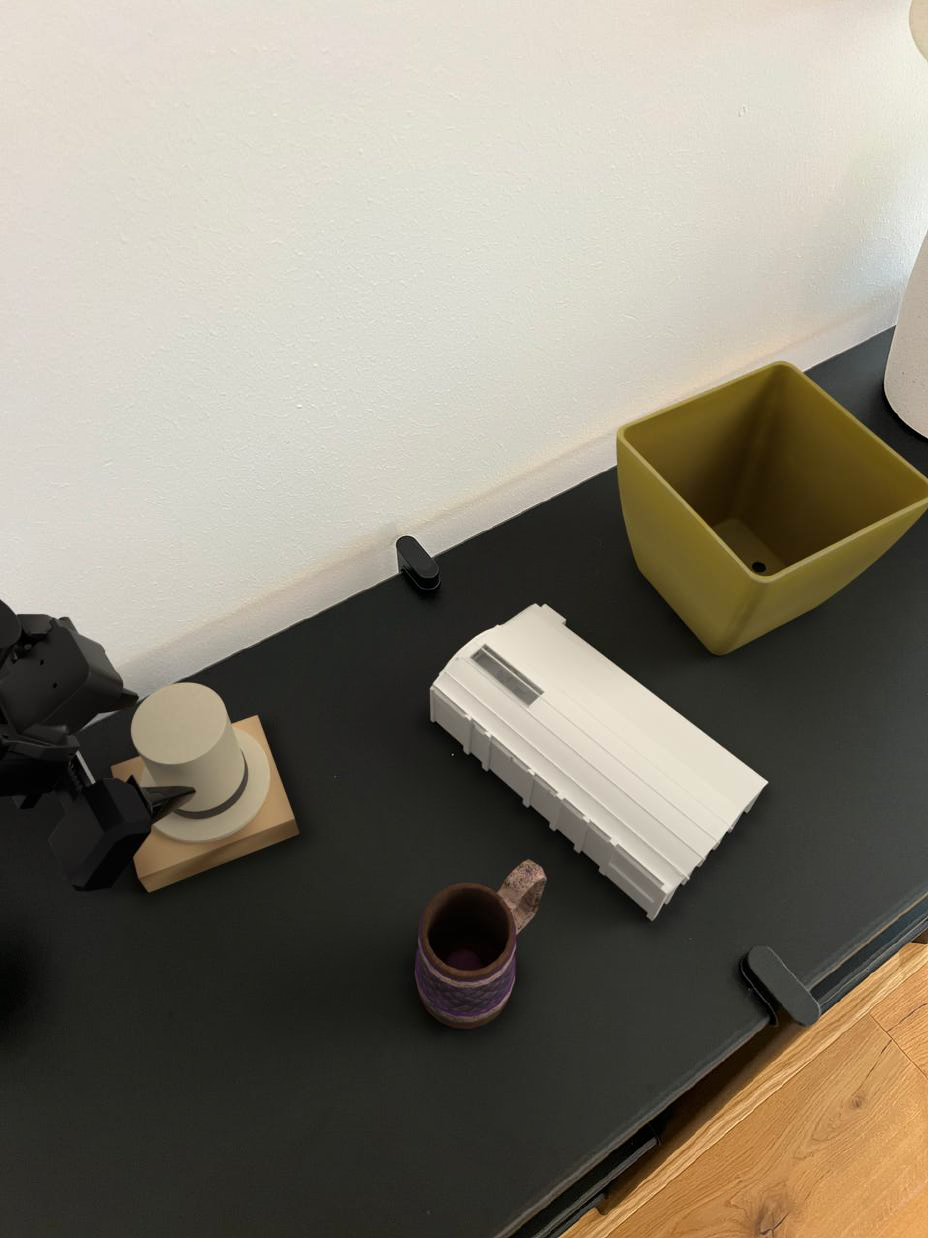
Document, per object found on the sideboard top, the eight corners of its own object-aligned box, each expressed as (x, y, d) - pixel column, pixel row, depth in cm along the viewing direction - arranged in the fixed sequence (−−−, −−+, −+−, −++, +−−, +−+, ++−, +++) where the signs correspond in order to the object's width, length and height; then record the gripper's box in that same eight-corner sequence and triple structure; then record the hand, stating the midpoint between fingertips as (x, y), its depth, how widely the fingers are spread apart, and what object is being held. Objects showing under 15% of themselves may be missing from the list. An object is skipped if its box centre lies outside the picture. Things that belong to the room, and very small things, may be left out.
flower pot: (709, 703, 83) (761, 584, 69) (586, 556, 93) (611, 427, 79) (868, 617, 89) (945, 492, 75) (737, 487, 98) (785, 356, 85)
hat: (213, 868, 70) (185, 813, 63) (113, 802, 73) (74, 741, 66) (296, 765, 75) (279, 703, 68) (199, 707, 78) (173, 641, 71)
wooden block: (148, 893, 72) (138, 878, 70) (120, 783, 78) (110, 766, 75) (299, 834, 75) (294, 818, 73) (263, 732, 81) (257, 714, 78)
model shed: (767, 799, 78) (792, 759, 72) (656, 926, 71) (675, 893, 66) (540, 623, 88) (546, 576, 82) (426, 720, 82) (424, 676, 76)
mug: (457, 1054, 66) (460, 1009, 56) (395, 972, 69) (388, 917, 59) (565, 959, 70) (584, 902, 60) (501, 886, 73) (511, 821, 63)
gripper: (68, 773, 48) (289, 763, 61) (-54, 541, 56) (161, 575, 69) (-27, 916, 51) (201, 878, 64) (-128, 677, 60) (90, 685, 73)
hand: (163, 745), depth 67 cm, fingers open, 9 cm apart
